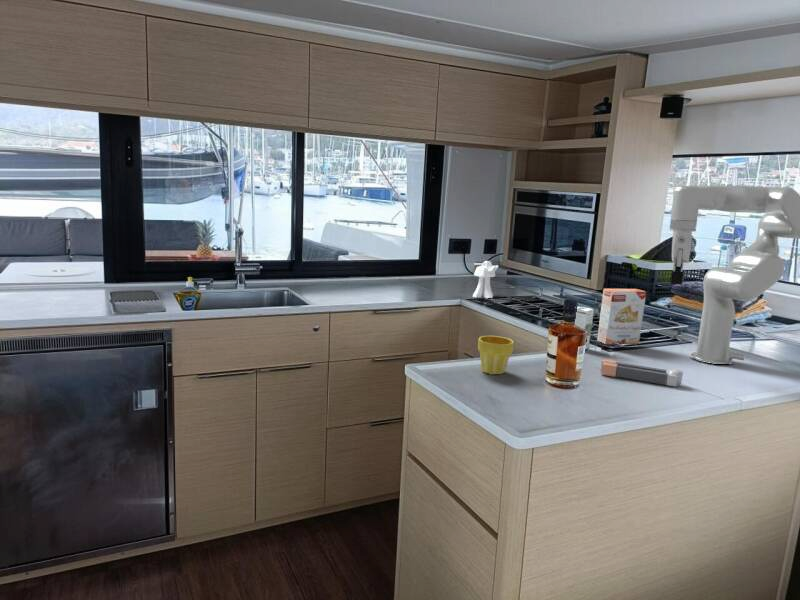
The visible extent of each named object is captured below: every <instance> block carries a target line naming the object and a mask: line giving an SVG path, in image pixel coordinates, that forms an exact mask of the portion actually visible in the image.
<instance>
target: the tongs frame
mask: <svg viewBox="0 0 800 600" xmlns="http://www.w3.org/2000/svg"><path fill="white" fill-rule="evenodd" d="M601 366H602V371H600V372H601V373H600V375H603V376H608V377H613V378H623V379H628V380H634V381H641V382H645V383H651V384H652V383H653V384H657V385H664V386H670V387H676V386H680V385H681V386H682V380H683V374H684V372H683V371H682V370H678V369H669V370H668V372H666V373H663V372H657V371H651V370H644V369H638V368H632V367H625V366H619V365H617V364H613V363H607V362H603V364H602V363H601ZM681 386H680V387H681ZM676 388H677V387H676Z"/></svg>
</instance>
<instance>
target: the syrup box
mask: <svg viewBox="0 0 800 600" xmlns="http://www.w3.org/2000/svg"><path fill="white" fill-rule="evenodd" d="M594 312H595V310H594V309H593V308H590V307H586V306H577V312H576V319H575V325H576V326H578V327H580V328H582V329H585V330H586V331H587V342H586V349H587V350H589V349H590V341H591V334H592V325H593V319H594ZM588 348H589V349H588Z"/></svg>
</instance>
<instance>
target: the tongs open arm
mask: <svg viewBox="0 0 800 600" xmlns="http://www.w3.org/2000/svg"><path fill="white" fill-rule="evenodd" d="M603 362H607V363H613V364H617V365H619V366H625V367H632V368H638V369H644V370H651V371H657V372H663V373H667V369H663V368H657V367H651V366H644V365H638V364H630V363H624V362H617V360H612V359H606V358H605V359H604V358H603V359H602V361H601V368H600V372H602V364H603Z"/></svg>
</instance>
